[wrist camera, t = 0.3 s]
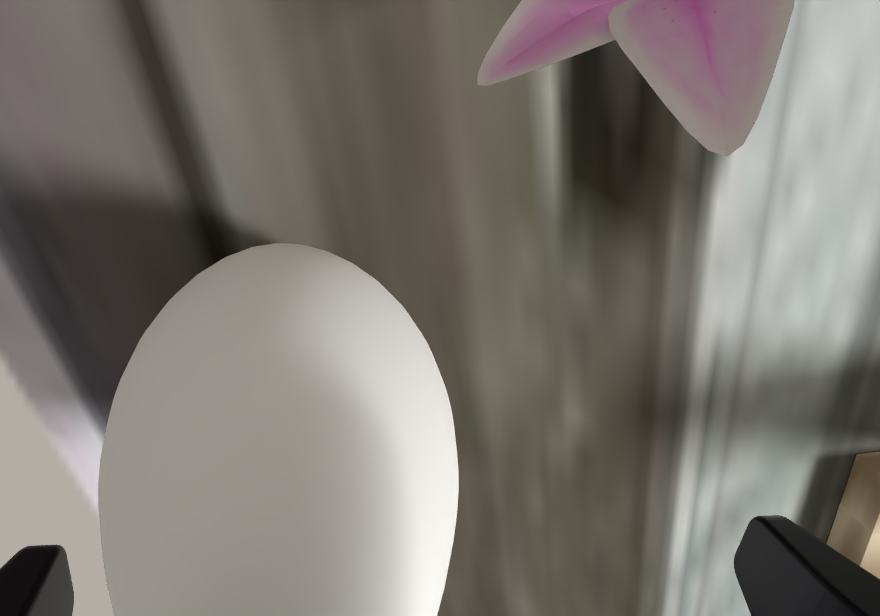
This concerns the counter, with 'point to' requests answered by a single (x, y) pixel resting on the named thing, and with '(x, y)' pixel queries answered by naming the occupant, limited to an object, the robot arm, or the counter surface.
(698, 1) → the lily
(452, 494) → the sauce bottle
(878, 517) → the jig
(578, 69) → the counter surface
